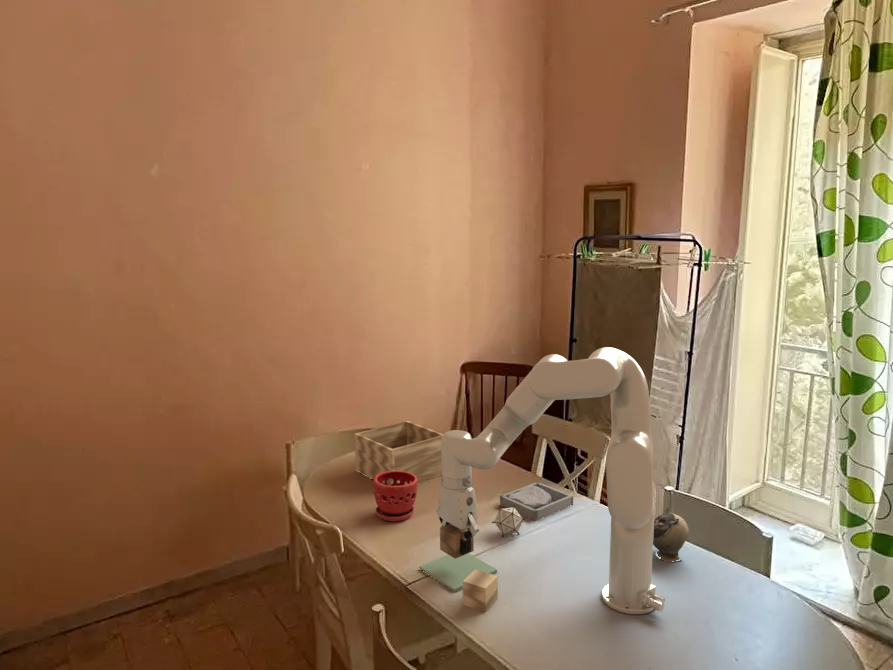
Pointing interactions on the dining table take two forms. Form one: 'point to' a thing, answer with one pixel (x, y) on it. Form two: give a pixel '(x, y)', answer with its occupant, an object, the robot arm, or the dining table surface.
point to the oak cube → (480, 590)
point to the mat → (455, 569)
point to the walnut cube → (452, 540)
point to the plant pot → (395, 495)
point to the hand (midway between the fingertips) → (456, 547)
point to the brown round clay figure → (669, 535)
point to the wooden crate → (399, 451)
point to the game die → (508, 520)
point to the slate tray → (536, 514)
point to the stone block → (532, 497)
